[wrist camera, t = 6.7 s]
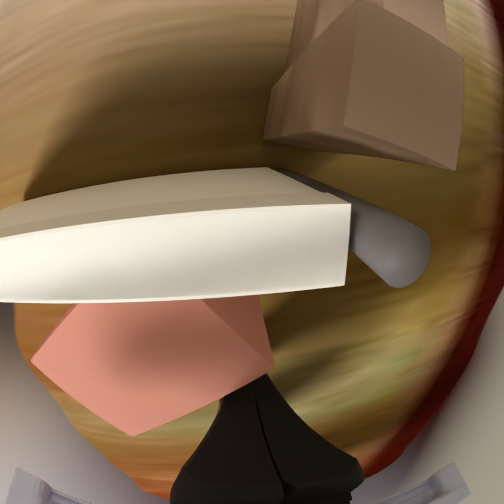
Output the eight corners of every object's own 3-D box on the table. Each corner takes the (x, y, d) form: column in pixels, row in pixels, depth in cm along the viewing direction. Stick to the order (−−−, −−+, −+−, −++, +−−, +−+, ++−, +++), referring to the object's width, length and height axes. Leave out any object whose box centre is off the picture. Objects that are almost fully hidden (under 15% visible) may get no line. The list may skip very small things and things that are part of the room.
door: (20, 225, 9) (-83, 295, 3) (16, 202, 9) (-94, 260, 2) (267, 196, 10) (344, 285, 4) (267, 165, 9) (350, 203, 3)
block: (148, 365, 13) (131, 436, 8) (75, 299, 11) (30, 360, 7) (257, 291, 12) (275, 367, 7) (175, 199, 10) (142, 238, 6)
